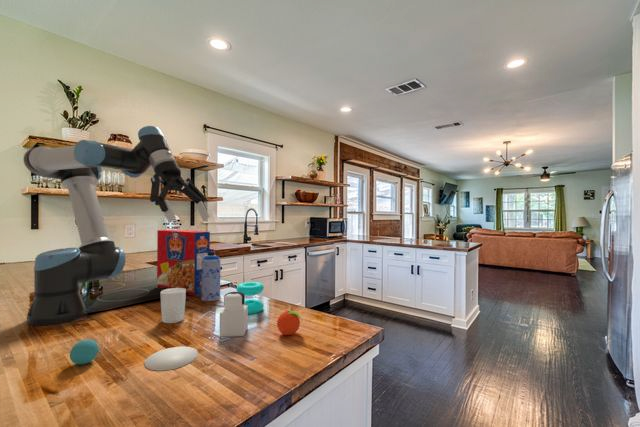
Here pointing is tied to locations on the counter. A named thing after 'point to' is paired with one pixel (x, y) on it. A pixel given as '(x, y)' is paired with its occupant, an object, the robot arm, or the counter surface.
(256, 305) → the donuts
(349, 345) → the counter surface
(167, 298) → the white cup
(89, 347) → the ball
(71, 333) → the counter surface
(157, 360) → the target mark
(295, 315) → the clementine
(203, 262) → the aerosol can
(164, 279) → the pasta box
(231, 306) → the medicine bottle
